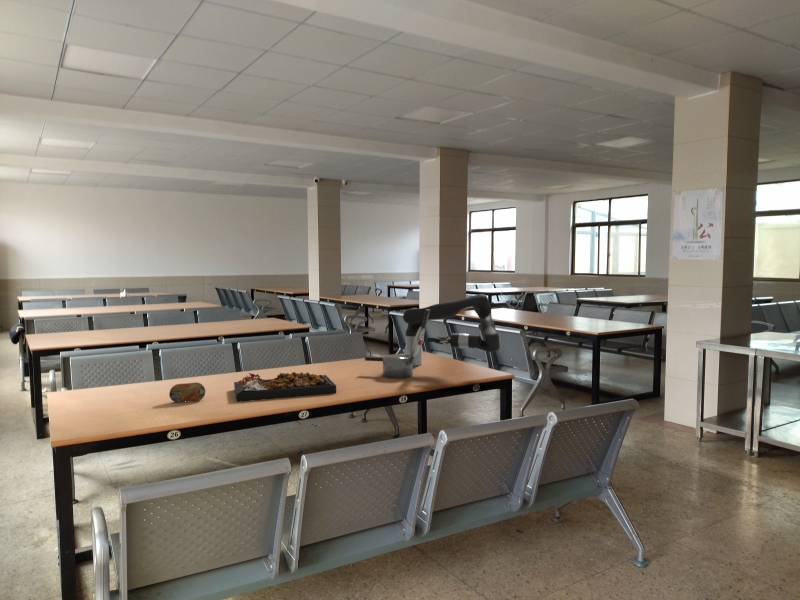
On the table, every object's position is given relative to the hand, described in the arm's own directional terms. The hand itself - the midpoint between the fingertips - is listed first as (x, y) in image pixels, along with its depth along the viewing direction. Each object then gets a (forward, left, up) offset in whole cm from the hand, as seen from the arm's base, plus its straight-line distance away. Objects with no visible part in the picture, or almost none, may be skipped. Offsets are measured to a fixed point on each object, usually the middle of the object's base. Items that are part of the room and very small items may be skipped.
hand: (428, 339), depth 303 cm
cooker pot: (-18, -11, -20) cm, 29 cm away
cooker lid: (-5, -3, +3) cm, 6 cm away
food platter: (-25, -72, -21) cm, 79 cm away
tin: (-39, -113, -20) cm, 121 cm away
